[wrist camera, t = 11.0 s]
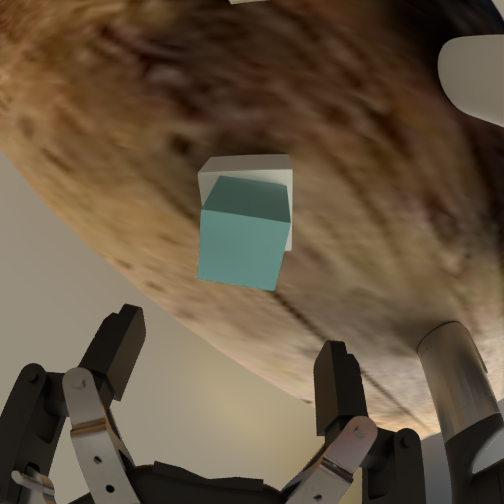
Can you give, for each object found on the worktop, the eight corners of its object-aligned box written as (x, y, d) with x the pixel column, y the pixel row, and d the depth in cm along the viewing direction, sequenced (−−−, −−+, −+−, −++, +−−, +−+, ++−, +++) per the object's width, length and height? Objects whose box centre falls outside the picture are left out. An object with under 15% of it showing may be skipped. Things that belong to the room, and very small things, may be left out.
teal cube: (286, 185, 20) (291, 223, 15) (274, 242, 23) (274, 290, 18) (219, 175, 20) (201, 209, 15) (214, 232, 23) (198, 279, 18)
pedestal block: (288, 153, 24) (292, 169, 20) (288, 223, 28) (291, 250, 24) (210, 156, 25) (197, 173, 20) (218, 224, 28) (208, 251, 24)
